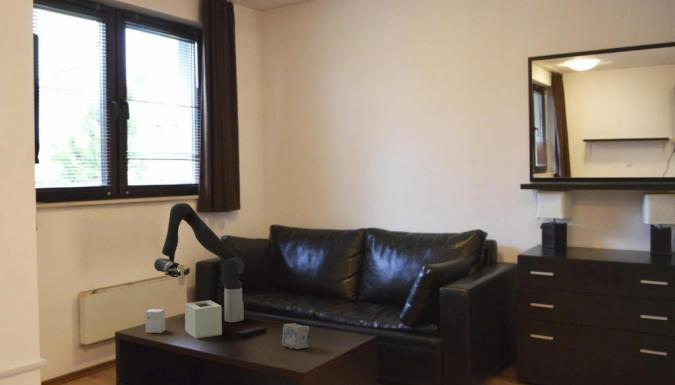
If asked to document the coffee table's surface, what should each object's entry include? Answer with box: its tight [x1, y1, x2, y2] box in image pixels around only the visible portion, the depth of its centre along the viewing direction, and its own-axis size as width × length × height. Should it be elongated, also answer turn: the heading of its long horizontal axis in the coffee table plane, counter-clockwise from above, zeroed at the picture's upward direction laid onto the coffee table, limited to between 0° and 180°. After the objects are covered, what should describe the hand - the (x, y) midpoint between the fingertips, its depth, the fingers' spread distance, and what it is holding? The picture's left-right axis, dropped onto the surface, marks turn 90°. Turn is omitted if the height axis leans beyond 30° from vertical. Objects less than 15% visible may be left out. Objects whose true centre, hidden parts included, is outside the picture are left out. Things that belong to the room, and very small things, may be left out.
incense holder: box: [281, 322, 310, 350], centre depth 269 cm, size 10×8×10 cm
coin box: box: [184, 299, 223, 340], centre depth 295 cm, size 13×16×14 cm
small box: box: [144, 308, 166, 334], centre depth 298 cm, size 8×6×10 cm
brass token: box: [177, 264, 186, 286], centre depth 304 cm, size 2×3×10 cm
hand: (182, 273), depth 302 cm, fingers closed on brass token, 2 cm apart
